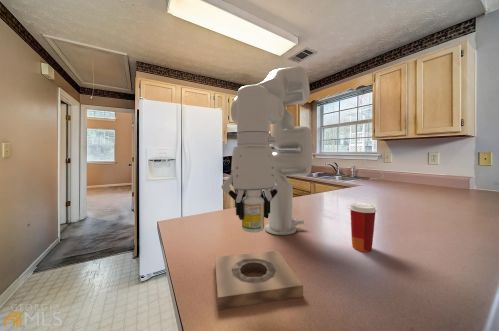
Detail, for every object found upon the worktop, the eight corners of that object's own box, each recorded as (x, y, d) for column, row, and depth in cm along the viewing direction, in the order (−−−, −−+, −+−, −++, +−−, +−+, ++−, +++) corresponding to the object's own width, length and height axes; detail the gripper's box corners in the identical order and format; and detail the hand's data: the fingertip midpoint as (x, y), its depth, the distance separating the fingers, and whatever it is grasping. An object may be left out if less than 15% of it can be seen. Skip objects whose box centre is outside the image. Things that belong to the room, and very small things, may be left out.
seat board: (277, 259, 59) (277, 250, 59) (302, 296, 43) (303, 285, 43) (215, 266, 55) (215, 257, 55) (218, 309, 40) (217, 297, 40)
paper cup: (372, 244, 68) (373, 203, 68) (378, 255, 61) (379, 209, 60) (346, 241, 71) (347, 201, 70) (349, 251, 63) (350, 207, 63)
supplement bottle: (254, 234, 45) (254, 191, 44) (237, 229, 48) (237, 189, 48) (268, 228, 49) (268, 188, 48) (251, 223, 52) (251, 186, 52)
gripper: (281, 143, 53) (281, 211, 54) (215, 142, 50) (216, 215, 50) (293, 140, 46) (293, 219, 46) (216, 139, 42) (217, 225, 43)
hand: (253, 216), depth 48 cm, fingers closed on supplement bottle, 5 cm apart
